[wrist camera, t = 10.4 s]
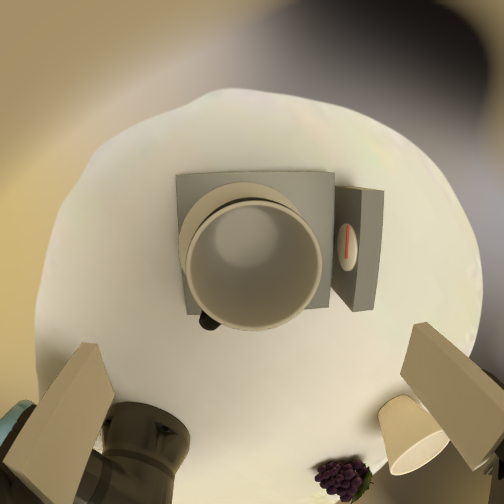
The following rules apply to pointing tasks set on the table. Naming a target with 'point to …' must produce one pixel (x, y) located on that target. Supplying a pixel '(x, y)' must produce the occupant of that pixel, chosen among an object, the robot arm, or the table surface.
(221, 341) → the table surface
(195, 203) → the scale
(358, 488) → the fruit
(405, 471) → the cup
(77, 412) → the robot arm
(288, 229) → the mug
